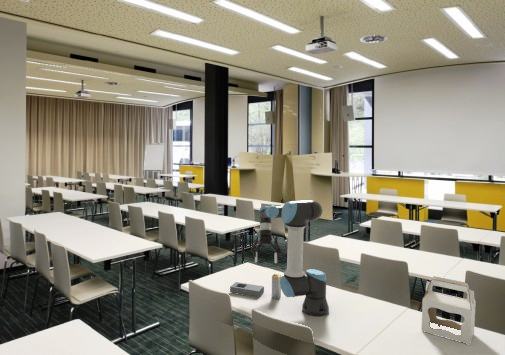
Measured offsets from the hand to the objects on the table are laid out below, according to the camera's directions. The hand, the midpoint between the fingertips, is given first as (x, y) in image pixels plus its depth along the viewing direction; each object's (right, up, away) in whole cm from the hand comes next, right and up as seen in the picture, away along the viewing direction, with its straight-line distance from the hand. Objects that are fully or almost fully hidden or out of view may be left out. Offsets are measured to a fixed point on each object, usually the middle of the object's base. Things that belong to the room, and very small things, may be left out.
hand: (266, 262), depth 243 cm
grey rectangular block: (-12, -19, +1) cm, 23 cm away
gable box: (+90, -24, -51) cm, 107 cm away
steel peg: (+6, -20, -7) cm, 22 cm away
